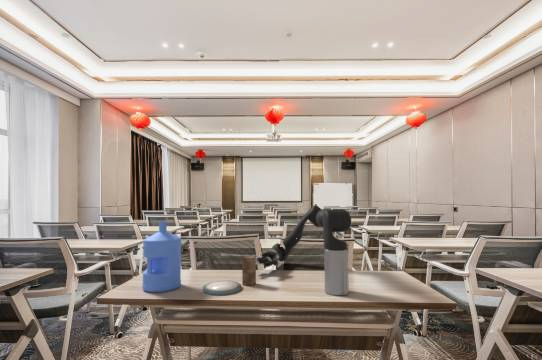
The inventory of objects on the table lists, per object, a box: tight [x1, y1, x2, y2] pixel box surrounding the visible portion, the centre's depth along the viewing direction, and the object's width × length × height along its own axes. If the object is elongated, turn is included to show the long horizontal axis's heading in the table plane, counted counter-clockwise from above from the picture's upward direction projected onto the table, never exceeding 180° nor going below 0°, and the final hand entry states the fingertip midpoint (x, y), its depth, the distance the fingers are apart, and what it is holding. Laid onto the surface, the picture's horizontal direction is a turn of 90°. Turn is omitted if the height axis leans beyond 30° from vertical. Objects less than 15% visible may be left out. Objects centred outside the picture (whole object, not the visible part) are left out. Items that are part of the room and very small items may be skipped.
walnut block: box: [241, 255, 257, 287], centre depth 133 cm, size 4×4×12 cm
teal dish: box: [202, 280, 242, 296], centre depth 126 cm, size 16×16×1 cm
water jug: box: [141, 221, 182, 293], centre depth 129 cm, size 16×16×28 cm
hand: (258, 264), depth 143 cm, fingers open, 8 cm apart
